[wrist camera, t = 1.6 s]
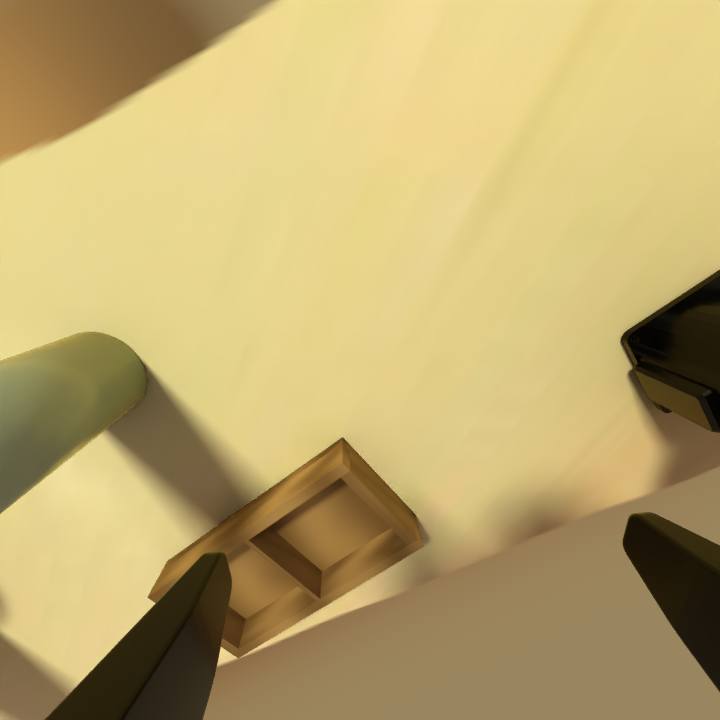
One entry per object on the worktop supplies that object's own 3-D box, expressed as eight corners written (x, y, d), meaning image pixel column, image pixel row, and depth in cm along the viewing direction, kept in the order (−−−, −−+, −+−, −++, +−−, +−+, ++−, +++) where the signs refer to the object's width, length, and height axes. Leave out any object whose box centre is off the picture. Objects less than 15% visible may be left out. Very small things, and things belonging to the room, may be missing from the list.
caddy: (342, 437, 21) (342, 462, 19) (415, 514, 24) (423, 546, 21) (167, 561, 24) (147, 597, 22) (248, 619, 27) (238, 658, 24)
